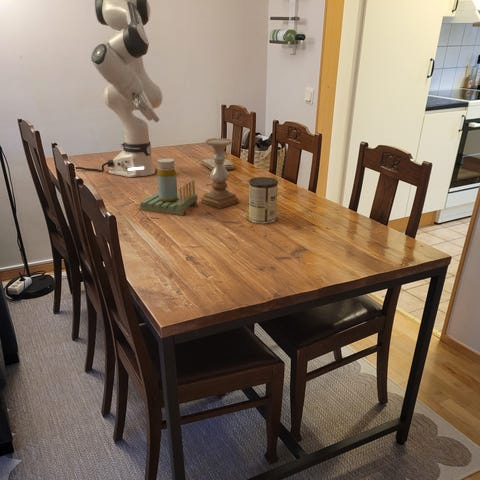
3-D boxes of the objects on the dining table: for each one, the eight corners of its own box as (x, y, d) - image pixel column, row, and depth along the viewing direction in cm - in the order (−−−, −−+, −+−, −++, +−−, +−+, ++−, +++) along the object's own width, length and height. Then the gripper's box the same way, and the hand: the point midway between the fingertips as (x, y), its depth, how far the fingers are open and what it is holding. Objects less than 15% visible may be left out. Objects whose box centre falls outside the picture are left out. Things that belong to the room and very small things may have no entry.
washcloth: (213, 172, 234) (213, 165, 232) (200, 164, 248) (200, 157, 246) (235, 169, 238) (236, 163, 237) (221, 161, 252) (221, 155, 250)
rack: (139, 209, 185) (137, 183, 180) (157, 199, 196) (155, 174, 191) (181, 215, 180) (180, 188, 174) (197, 204, 191) (196, 179, 186)
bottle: (179, 197, 189) (176, 158, 181) (175, 202, 183) (172, 162, 175) (161, 196, 190) (158, 157, 182) (157, 202, 184) (154, 162, 176)
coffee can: (253, 213, 183) (254, 175, 176) (279, 216, 180) (281, 178, 173) (244, 221, 175) (245, 183, 168) (271, 225, 172) (273, 186, 165)
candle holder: (200, 202, 193) (198, 140, 181) (219, 196, 200) (218, 136, 188) (219, 208, 187) (218, 144, 175) (238, 202, 194) (239, 140, 182)
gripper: (144, 95, 166) (168, 122, 177) (129, 68, 177) (153, 95, 188) (130, 108, 168) (155, 133, 179) (117, 80, 179) (141, 106, 190)
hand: (154, 113), depth 184 cm, fingers open, 8 cm apart
